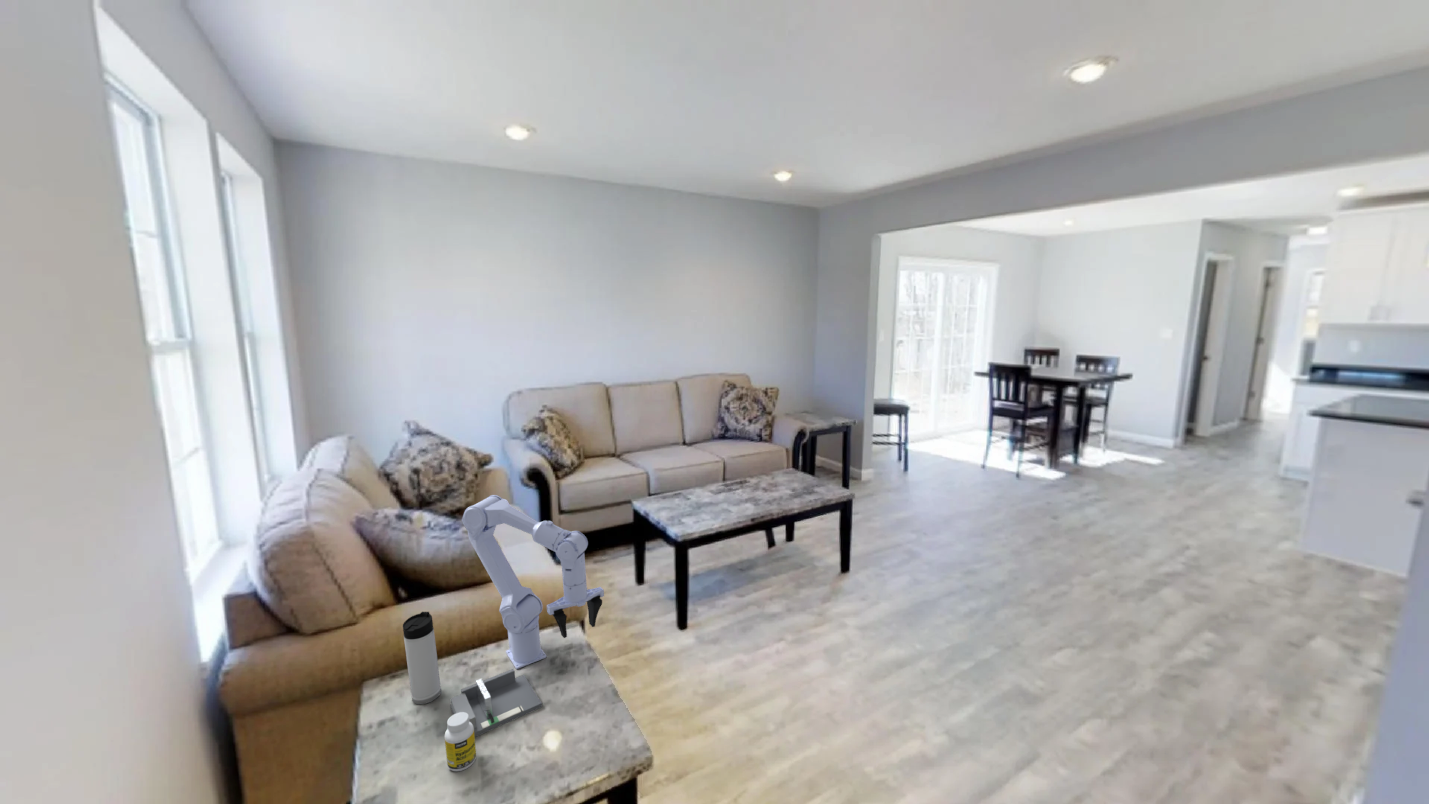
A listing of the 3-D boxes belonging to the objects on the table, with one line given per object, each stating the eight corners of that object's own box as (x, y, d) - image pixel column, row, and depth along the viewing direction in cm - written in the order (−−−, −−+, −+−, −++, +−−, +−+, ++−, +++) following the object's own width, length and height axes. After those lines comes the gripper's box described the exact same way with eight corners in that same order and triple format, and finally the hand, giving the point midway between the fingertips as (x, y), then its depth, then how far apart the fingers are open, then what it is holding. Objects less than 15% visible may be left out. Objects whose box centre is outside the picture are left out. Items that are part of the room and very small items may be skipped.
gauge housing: (450, 708, 128) (448, 692, 128) (524, 678, 138) (522, 663, 138) (463, 741, 118) (462, 725, 117) (542, 706, 128) (541, 691, 127)
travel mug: (447, 686, 136) (438, 611, 133) (431, 705, 130) (421, 626, 126) (423, 685, 137) (413, 610, 134) (406, 704, 130) (395, 626, 127)
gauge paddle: (477, 698, 129) (475, 680, 129) (483, 696, 130) (481, 678, 129) (490, 724, 121) (488, 705, 120) (495, 722, 122) (493, 703, 121)
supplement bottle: (456, 777, 109) (451, 732, 108) (442, 764, 112) (437, 721, 111) (482, 759, 113) (477, 716, 112) (468, 747, 117) (463, 705, 115)
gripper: (552, 596, 132) (556, 648, 135) (607, 577, 141) (611, 627, 143) (542, 585, 138) (546, 635, 140) (596, 568, 147) (599, 615, 149)
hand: (578, 630), depth 142 cm, fingers open, 7 cm apart
